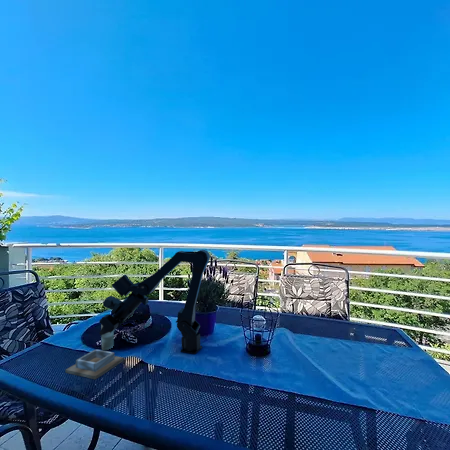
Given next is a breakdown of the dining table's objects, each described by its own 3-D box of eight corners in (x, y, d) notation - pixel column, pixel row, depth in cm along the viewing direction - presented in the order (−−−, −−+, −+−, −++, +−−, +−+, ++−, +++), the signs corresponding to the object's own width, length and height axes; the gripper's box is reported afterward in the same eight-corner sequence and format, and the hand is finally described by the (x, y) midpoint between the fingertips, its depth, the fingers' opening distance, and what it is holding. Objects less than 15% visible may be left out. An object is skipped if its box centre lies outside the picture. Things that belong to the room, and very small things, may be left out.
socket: (123, 360, 99) (123, 350, 99) (95, 379, 87) (95, 368, 87) (96, 355, 104) (95, 346, 104) (65, 372, 91) (65, 362, 91)
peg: (116, 346, 111) (115, 320, 111) (107, 351, 107) (107, 324, 107) (107, 344, 113) (107, 319, 113) (99, 349, 109) (98, 323, 109)
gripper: (126, 284, 119) (102, 310, 120) (104, 295, 100) (76, 325, 101) (144, 303, 118) (120, 328, 119) (125, 317, 100) (96, 347, 101)
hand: (104, 331), depth 110 cm, fingers open, 6 cm apart
